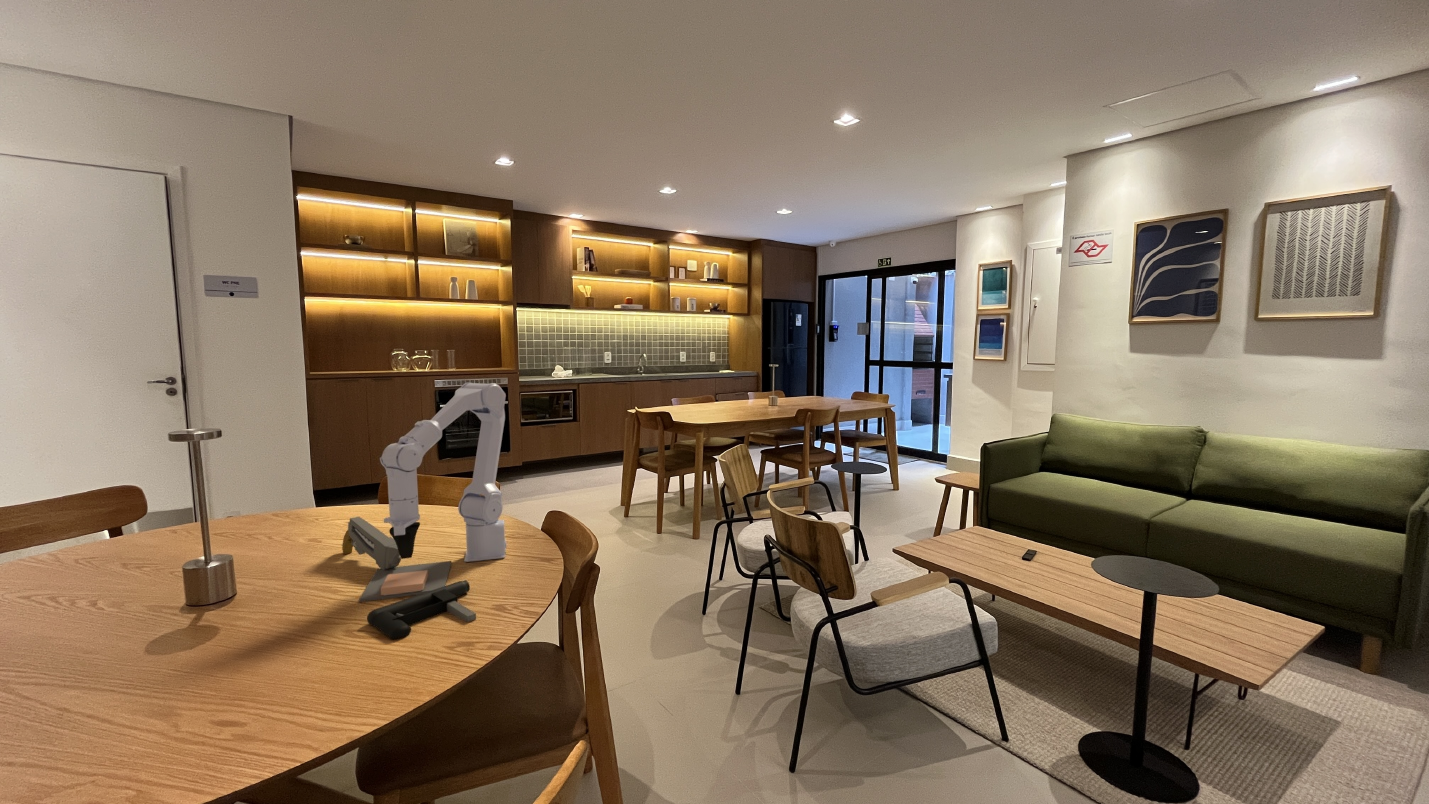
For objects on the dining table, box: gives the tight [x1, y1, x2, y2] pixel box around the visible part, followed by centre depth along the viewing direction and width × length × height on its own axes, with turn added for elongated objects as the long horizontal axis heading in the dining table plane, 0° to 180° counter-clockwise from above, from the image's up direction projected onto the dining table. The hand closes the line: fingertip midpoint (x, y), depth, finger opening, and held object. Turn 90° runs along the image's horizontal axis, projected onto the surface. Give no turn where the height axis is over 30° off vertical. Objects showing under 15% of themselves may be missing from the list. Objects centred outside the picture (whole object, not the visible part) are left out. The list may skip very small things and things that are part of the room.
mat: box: [358, 560, 452, 603], centre depth 133 cm, size 16×18×1 cm
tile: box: [381, 570, 428, 596], centre depth 128 cm, size 8×2×8 cm
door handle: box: [366, 579, 477, 641], centre depth 116 cm, size 3×20×16 cm
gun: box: [341, 516, 402, 570], centre depth 144 cm, size 3×25×15 cm, turn 56°
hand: (406, 557), depth 130 cm, fingers closed
